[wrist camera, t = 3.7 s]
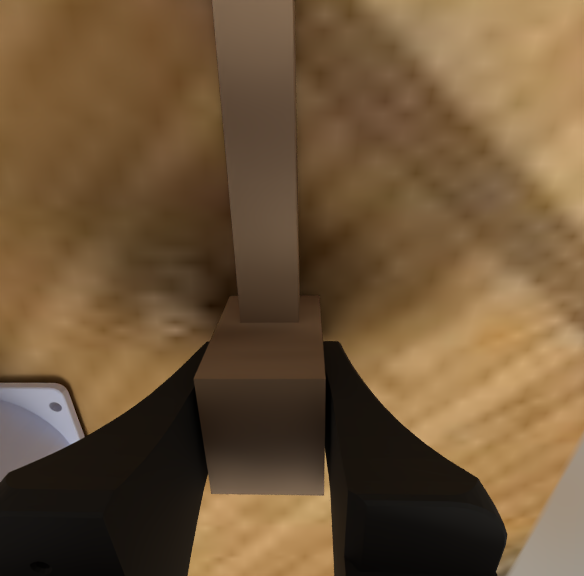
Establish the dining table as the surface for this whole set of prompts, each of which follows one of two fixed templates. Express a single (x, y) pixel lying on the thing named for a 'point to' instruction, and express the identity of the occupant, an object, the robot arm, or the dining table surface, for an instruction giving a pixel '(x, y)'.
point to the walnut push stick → (262, 274)
